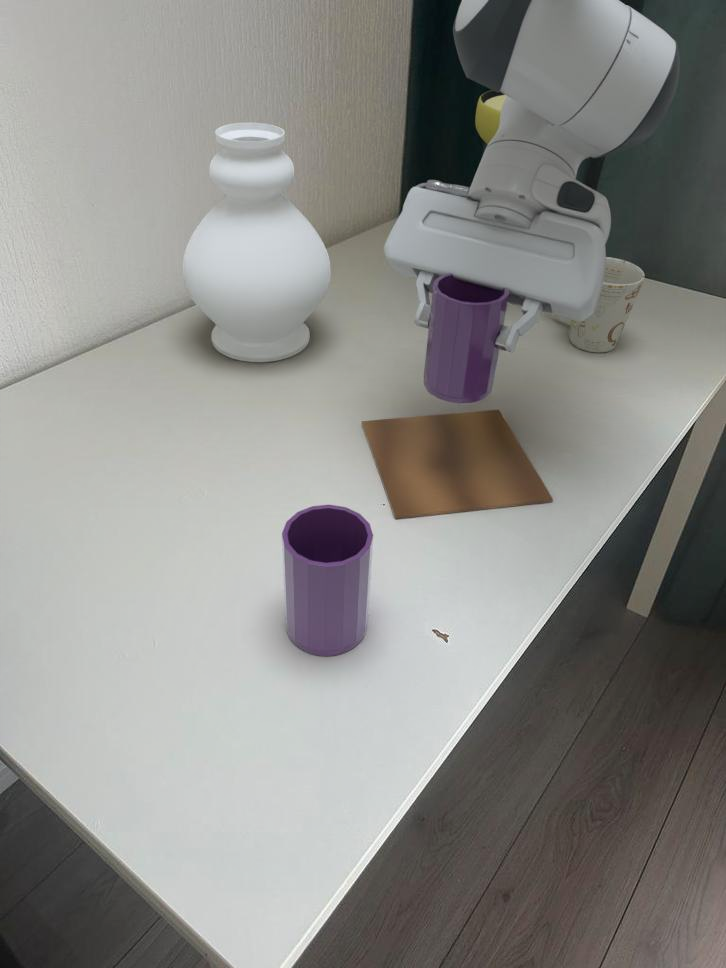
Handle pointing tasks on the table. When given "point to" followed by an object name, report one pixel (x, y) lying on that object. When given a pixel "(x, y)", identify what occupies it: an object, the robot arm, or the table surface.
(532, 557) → the table surface
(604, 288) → the mug
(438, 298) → the cup
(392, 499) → the mat
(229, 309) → the decorative vase
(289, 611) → the cup
